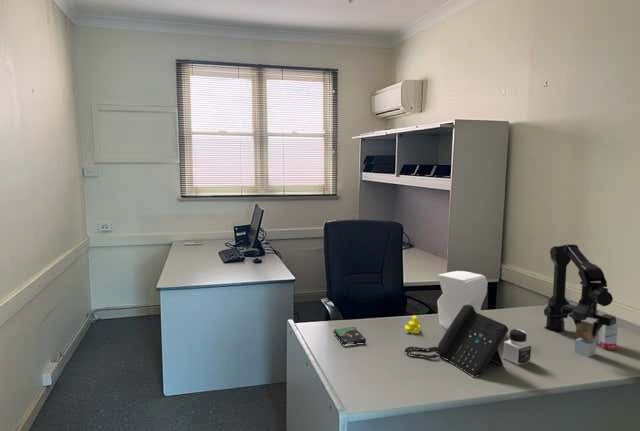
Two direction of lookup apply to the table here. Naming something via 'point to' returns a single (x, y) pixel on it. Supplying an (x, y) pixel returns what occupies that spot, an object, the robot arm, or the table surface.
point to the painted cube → (585, 347)
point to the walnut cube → (585, 330)
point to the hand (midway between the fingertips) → (586, 334)
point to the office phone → (470, 341)
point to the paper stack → (460, 294)
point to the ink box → (607, 337)
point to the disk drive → (349, 335)
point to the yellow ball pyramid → (413, 325)
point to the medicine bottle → (517, 347)
